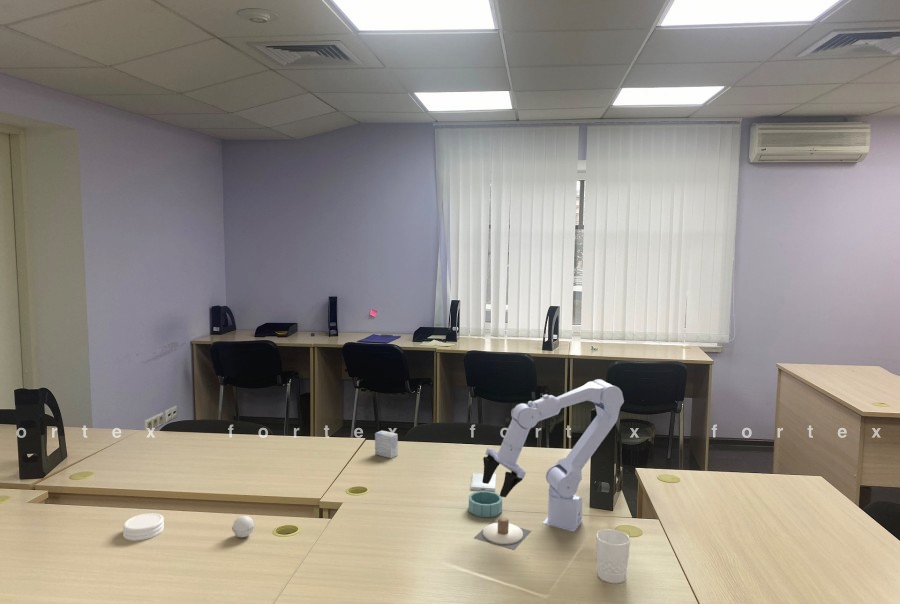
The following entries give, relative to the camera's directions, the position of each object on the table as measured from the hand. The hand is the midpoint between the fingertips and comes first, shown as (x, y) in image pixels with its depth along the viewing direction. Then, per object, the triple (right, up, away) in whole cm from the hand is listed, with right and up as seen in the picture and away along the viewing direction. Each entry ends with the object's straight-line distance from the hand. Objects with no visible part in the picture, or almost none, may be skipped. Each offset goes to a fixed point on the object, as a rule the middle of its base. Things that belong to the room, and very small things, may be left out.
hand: (493, 489), depth 162 cm
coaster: (-97, -11, -3) cm, 98 cm away
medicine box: (-37, -6, +59) cm, 70 cm away
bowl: (-2, -11, +12) cm, 16 cm away
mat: (+2, -12, -3) cm, 12 cm away
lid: (+2, -11, -3) cm, 12 cm away
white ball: (-69, -12, -6) cm, 70 cm away
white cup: (+27, -14, -22) cm, 38 cm away
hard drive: (-1, -9, +33) cm, 35 cm away
